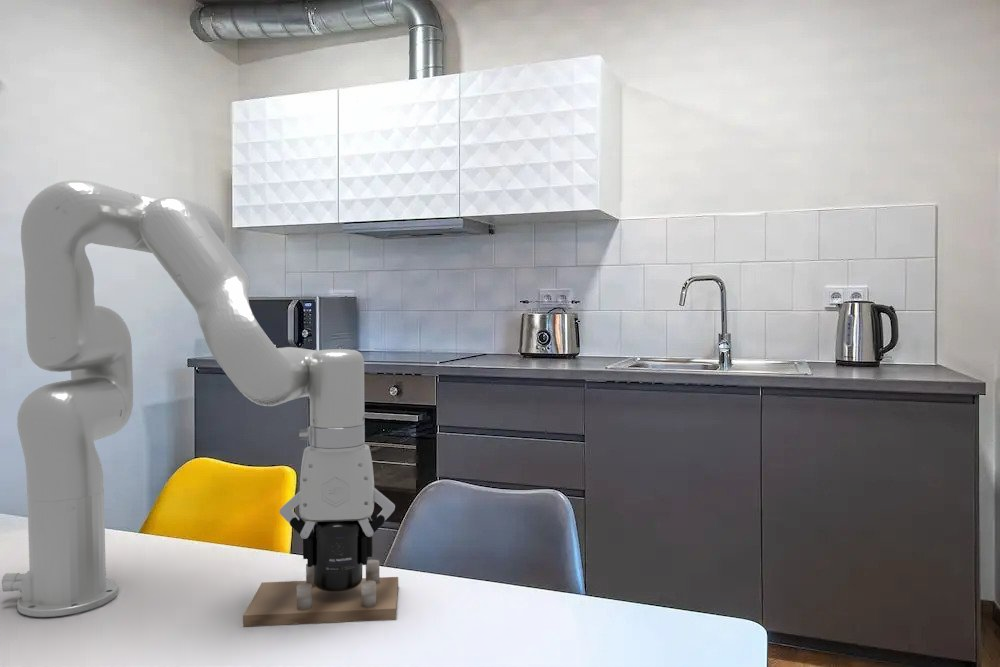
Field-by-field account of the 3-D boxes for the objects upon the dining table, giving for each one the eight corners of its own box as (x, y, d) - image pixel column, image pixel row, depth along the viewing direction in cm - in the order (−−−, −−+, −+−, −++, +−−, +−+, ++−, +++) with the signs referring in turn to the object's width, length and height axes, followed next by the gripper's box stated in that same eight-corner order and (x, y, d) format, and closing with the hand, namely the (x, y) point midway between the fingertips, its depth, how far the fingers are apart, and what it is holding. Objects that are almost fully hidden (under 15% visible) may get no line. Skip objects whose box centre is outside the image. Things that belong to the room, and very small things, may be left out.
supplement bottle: (335, 596, 102) (334, 508, 102) (303, 585, 106) (302, 501, 106) (373, 582, 108) (372, 498, 107) (341, 571, 112) (340, 491, 112)
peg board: (243, 626, 100) (242, 593, 100) (261, 592, 112) (261, 562, 112) (396, 619, 102) (395, 586, 102) (398, 586, 114) (398, 557, 114)
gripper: (268, 443, 102) (270, 574, 102) (399, 441, 104) (399, 569, 104) (279, 433, 109) (280, 556, 110) (400, 431, 111) (400, 552, 112)
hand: (338, 561), depth 107 cm, fingers closed on supplement bottle, 6 cm apart
